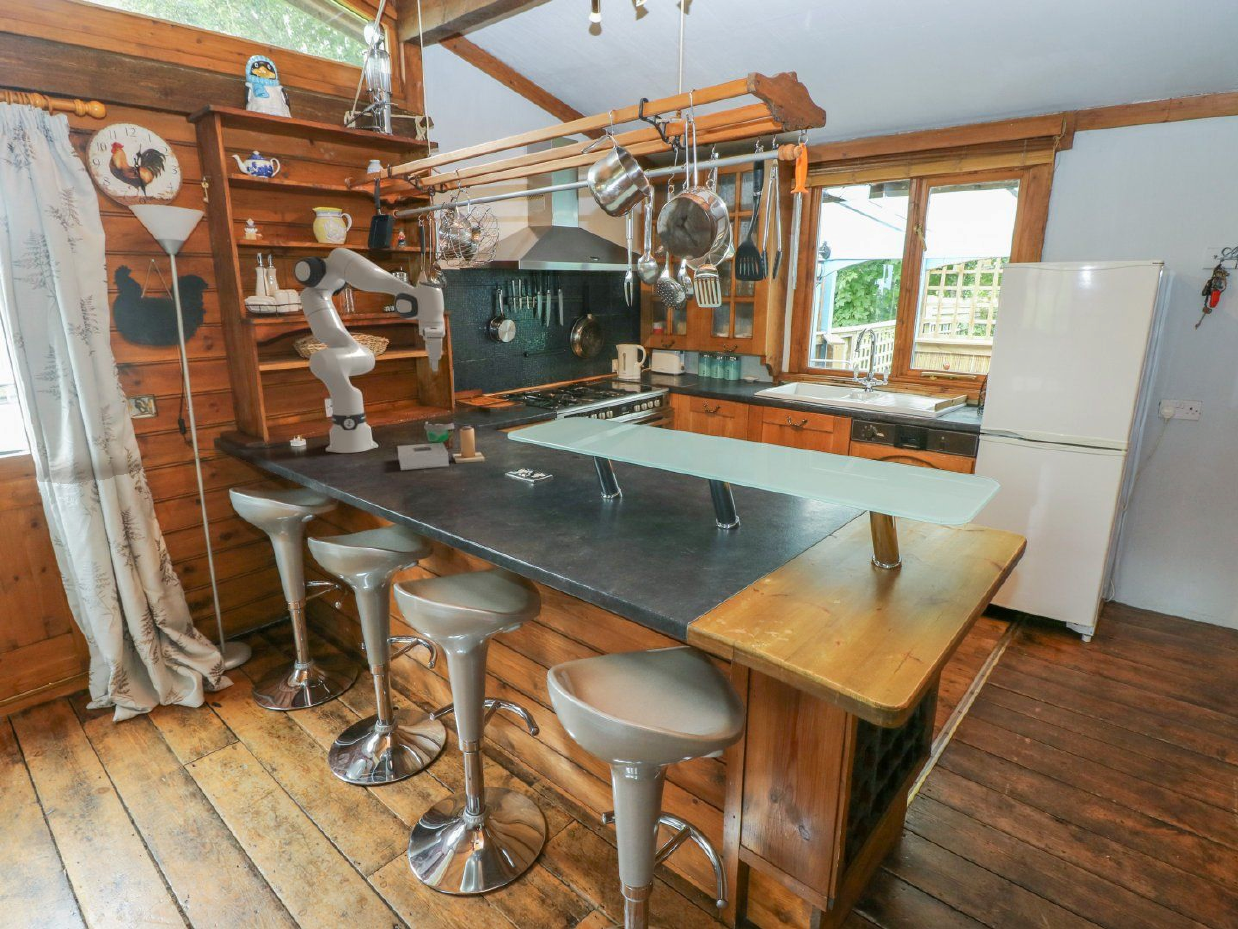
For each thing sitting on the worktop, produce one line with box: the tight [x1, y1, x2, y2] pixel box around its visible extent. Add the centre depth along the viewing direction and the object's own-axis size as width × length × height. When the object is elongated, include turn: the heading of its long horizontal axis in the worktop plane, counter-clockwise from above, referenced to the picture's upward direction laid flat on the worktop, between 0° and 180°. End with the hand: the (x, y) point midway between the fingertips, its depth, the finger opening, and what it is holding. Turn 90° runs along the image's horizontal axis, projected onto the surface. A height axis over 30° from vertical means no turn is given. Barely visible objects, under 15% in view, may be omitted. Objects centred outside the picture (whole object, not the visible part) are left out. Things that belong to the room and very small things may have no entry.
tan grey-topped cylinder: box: [459, 425, 476, 458], centre depth 242 cm, size 5×5×11 cm
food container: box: [423, 420, 456, 451], centre depth 257 cm, size 12×6×10 cm, turn 73°
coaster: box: [452, 451, 486, 464], centre depth 243 cm, size 10×10×1 cm
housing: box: [397, 443, 450, 471], centre depth 237 cm, size 16×16×5 cm
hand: (433, 369), depth 239 cm, fingers open, 8 cm apart
